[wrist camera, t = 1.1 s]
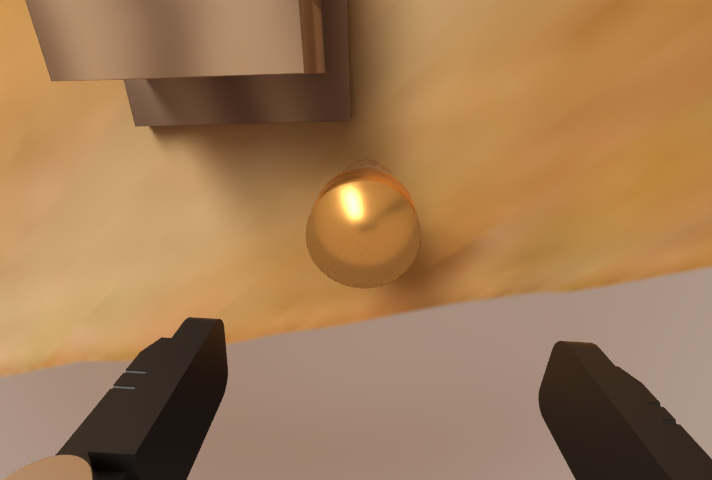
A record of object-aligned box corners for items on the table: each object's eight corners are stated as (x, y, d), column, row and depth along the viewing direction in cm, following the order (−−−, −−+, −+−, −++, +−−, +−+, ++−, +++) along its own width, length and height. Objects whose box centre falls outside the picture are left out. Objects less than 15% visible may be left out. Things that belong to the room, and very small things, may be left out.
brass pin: (407, 145, 28) (423, 181, 19) (405, 222, 30) (418, 288, 21) (325, 147, 28) (300, 183, 19) (329, 223, 30) (310, 288, 21)
